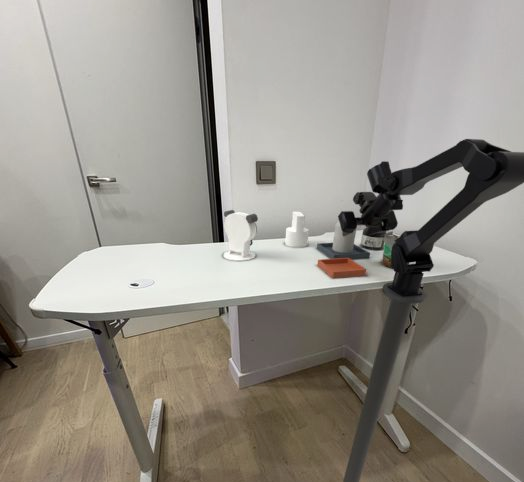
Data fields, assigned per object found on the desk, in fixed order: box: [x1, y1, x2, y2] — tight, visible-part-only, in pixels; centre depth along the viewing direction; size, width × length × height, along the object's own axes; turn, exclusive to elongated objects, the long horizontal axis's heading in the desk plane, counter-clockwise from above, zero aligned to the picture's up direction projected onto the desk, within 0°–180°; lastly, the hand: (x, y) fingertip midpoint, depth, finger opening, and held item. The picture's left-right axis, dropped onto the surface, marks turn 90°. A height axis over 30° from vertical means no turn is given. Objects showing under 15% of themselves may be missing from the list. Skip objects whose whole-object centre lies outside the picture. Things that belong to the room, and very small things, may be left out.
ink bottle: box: [360, 226, 388, 251], centre depth 114 cm, size 10×9×12 cm
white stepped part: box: [284, 211, 310, 248], centre depth 115 cm, size 9×9×12 cm
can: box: [332, 219, 358, 254], centre depth 106 cm, size 8×8×12 cm
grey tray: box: [316, 242, 371, 260], centre depth 109 cm, size 14×14×2 cm
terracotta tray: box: [316, 258, 368, 279], centre depth 93 cm, size 11×11×2 cm
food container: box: [381, 230, 410, 269], centre depth 96 cm, size 12×6×10 cm, turn 17°
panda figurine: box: [223, 209, 259, 262], centre depth 100 cm, size 12×11×15 cm
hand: (355, 234), depth 99 cm, fingers open, 9 cm apart
